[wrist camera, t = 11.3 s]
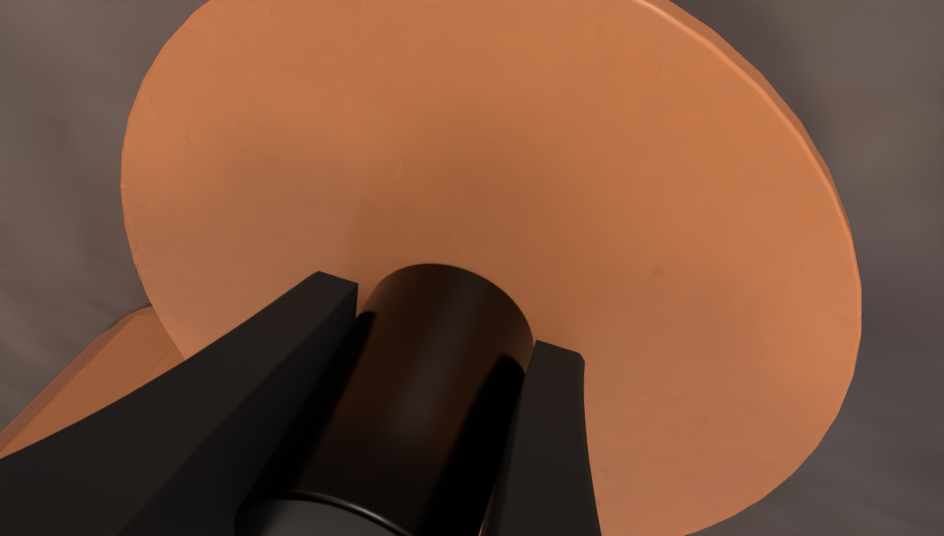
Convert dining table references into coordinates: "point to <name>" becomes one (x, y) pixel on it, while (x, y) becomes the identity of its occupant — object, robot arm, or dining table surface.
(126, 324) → the orange pot
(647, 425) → the orange pot lid
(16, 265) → the dining table surface
